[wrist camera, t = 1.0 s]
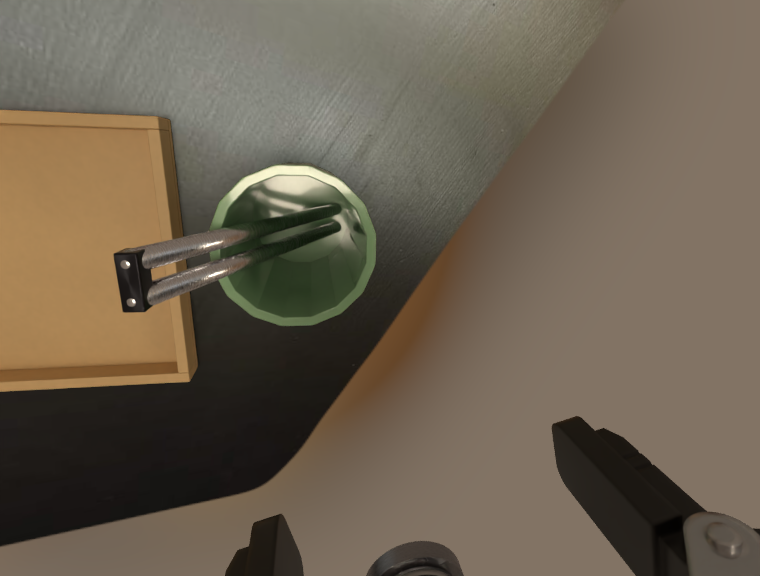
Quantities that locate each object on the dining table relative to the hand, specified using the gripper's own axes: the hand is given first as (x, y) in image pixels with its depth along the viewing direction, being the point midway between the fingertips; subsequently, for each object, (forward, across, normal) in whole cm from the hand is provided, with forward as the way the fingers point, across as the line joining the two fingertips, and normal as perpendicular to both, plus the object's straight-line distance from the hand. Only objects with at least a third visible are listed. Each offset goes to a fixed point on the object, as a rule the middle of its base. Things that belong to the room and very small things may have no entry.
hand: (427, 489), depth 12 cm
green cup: (+25, -3, +6) cm, 25 cm away
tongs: (+15, -4, +6) cm, 17 cm away
